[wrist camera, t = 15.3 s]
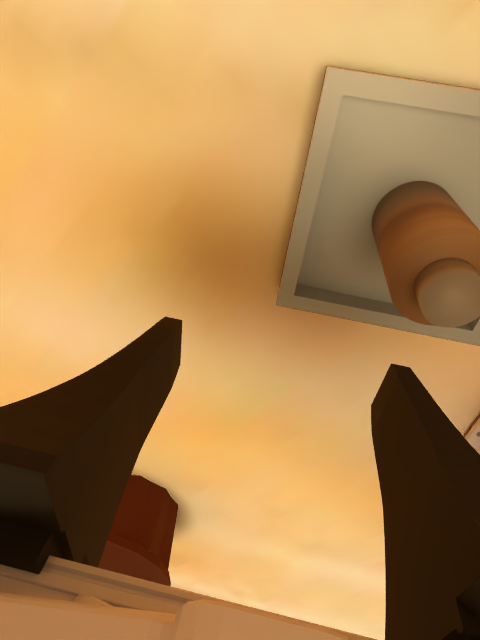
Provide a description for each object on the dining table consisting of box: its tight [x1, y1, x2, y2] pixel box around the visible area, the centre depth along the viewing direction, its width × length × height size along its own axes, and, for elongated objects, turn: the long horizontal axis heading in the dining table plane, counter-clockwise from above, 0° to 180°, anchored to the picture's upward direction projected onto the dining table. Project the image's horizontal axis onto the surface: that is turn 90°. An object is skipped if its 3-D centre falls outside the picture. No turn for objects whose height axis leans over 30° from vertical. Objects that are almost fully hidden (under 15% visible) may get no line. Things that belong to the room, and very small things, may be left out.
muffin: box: [98, 475, 178, 586], centre depth 35 cm, size 12×11×10 cm
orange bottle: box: [372, 181, 480, 328], centre depth 15 cm, size 4×4×7 cm
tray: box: [276, 66, 480, 346], centre depth 18 cm, size 11×11×2 cm
